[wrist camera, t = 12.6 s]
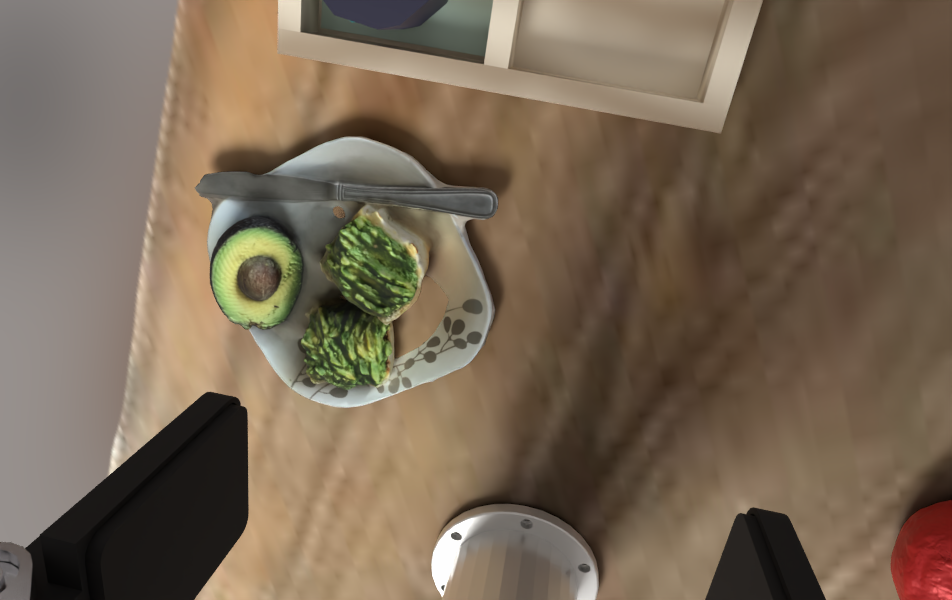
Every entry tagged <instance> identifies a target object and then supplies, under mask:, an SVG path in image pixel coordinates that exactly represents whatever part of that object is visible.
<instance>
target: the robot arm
mask: <svg viewBox="0 0 952 600" xmlns="http://www.w3.org/2000/svg"><path fill="white" fill-rule="evenodd" d="M247 521H248V417H247V409H246V408H245V407H243V406H241V405H240V401H239V399H238V398H236V397H232V396H228V395H223V394H218V393H214V392H207V393H205V394H203V395H202V396H201V397H200V398H199V399H198V400H196V401H195V402H194V403H193V404H192V405H191V406H189V407H188V408H187V409H186V410H185V411H184V412H182V413H181V414H180V415H179V416H178V417H177V418H175V419H174V420H173V421H172V422H171V423H170V424H168V425H167V426H166V427H165V428H164V429H163V430H161V431H160V432H159V433H158V434H157V435H156V436H154V437H153V438H152V439H151V440H150V441H149V442H147V443H146V444H145V445H144V446H143V447H142V448H140V449H139V450H138V451H137V452H136V453H135V454H133V455H132V456H131V457H130V458H129V459H128V460H127V461H125V462H124V463H123V464H122V465H121V466H120V467H118V468H117V469H116V470H115V471H114V472H113V473H111V474H110V475H109V476H108V477H107V478H106V479H104V480H103V481H102V482H101V483H100V484H99V485H98V486H96V487H95V488H94V489H93V490H92V491H91V492H89V493H88V494H87V495H86V496H85V497H83V498H82V499H81V500H80V501H79V502H78V503H76V504H75V505H74V506H73V507H72V508H71V509H70V510H69V511H67V512H66V513H65V514H64V515H62V516H61V517H60V518H59V519H58V520H57V521H55V522H54V523H53V524H52V525H51V526H50V527H48V528H47V529H46V530H45V531H44V532H43V533H42V534H40V536H39V537H38V538H37V539H36V540H34V541H33V542H32V543H31V544H30V545H29V546H28V547H26V548H24V547H23V546H20V545H17V544H14V543H11V542H0V600H194V599H195V598H196V596H197V595H198V594H199V592H200V591H201V589H202V588H203V587H204V585H205V584H206V583H207V581H208V580H209V579H210V577H211V576H212V574H213V573H214V572H215V570H216V569H217V568H218V566H219V565H220V564H221V562H222V561H223V559H224V558H225V557H226V555H227V554H228V553H229V551H230V550H231V549H232V547H233V546H234V544H235V543H236V542H237V540H238V539H239V538H240V536H241V535H242V533H243V531H244V529H245V527H246V524H247ZM431 567H432V576H433V579H434V582H435V585H436V587H437V589H438V590H439V592H440V594H441V596H442V600H596V598H597V593H598V588H599V572H598V567H597V562H596V559H595V557H594V555H593V552H592V550H591V548H590V547H589V545H588V544H587V543H586V541H585V540H584V539H583V537H582V536H581V535H580V534H579V533H578V532H577V531H575V530H574V529H573V528H572V527H571V526H570V525H568V524H567V523H565V522H564V521H562V520H560V519H559V518H557V517H555V516H553V515H551V514H549V513H546V512H544V511H542V510H538V509H535V508H531V507H528V506H522V505H514V504H491V505H486V506H481V507H476V508H474V509H471V510H469V511H466V512H464V513H462V514H460V515H459V516H457V517H455V518H454V519H452V520H451V521H450V522H449V523H448V524H447V525H446V526H445V527H444V528H443V530H442V532H441V533H440V535H439V536H438V538H437V541H436V544H435V547H434V550H433V555H432V561H431ZM705 600H826V599H825V596H824V594H823V592H822V590H821V588H820V585H819V583H818V581H817V579H816V576H815V574H814V572H813V570H812V568H811V565H810V563H809V561H808V559H807V556H806V554H805V552H804V550H803V548H802V545H801V543H800V541H799V539H798V537H797V534H796V532H795V530H794V528H793V525H792V523H791V521H790V519H789V518H788V516H787V515H785V514H782V513H777V512H772V511H768V510H763V509H758V508H750V510H749V511H748V512H747V514H742V513H740V514H738V515H737V516H736V518H735V521H734V523H733V526H732V529H731V532H730V534H729V537H728V540H727V542H726V545H725V548H724V550H723V553H722V556H721V559H720V561H719V564H718V567H717V569H716V572H715V575H714V578H713V580H712V583H711V586H710V588H709V591H708V594H707V596H706V599H705Z"/></svg>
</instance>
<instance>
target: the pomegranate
mask: <svg viewBox="0 0 952 600" xmlns="http://www.w3.org/2000/svg"><path fill="white" fill-rule="evenodd" d="M891 572H892V577H893V581H894V583H895V586H896V590H897V593H898V596H899V598H900V600H952V500H949V501H944V502H939V503H935V504H934V505H931V506H928V507H926V508H922V509H920V510H919V511H917V512H916V513H914V514H913V515H912V516H910V518H909V519H908V520H907V521H906V523H905V524H904V525H903V527H902V528H901V530H900V533H899V535H898V537H897V540H896V543H895V546H894V549H893V552H892V556H891Z"/></svg>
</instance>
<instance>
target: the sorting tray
mask: <svg viewBox="0 0 952 600" xmlns="http://www.w3.org/2000/svg"><path fill="white" fill-rule="evenodd" d="M762 2H763V0H448V2H447V4H446V5H444V6H443V7H442V8H441V9H440V10H438V11H437V12H436V13H435V14H434V15H433V16H431V17H430V18H429V19H428V20H427V21H425V22H424V23H423V24H422V25H421V26H418V27H413V28H408V29H392V30H377V29H374V28H371V27H368V26H365V25H362V24H359V23H356V22H351V21H350V20H347V19H344V18H341V17H338V16H335V15H334V14H333V13H332V12H331V10H330V9H329V8H328V6H327V5H326V4H325V2H324V1H323V0H278V54H284V55H289V56H295V57H300V58H306V59H311V60H317V61H322V62H328V63H334V64H339V65H345V66H350V67H356V68H361V69H367V70H372V71H378V72H383V73H389V74H394V75H400V76H406V77H411V78H417V79H422V80H428V81H433V82H439V83H444V84H450V85H455V86H461V87H467V88H472V89H478V90H483V91H489V92H494V93H500V94H505V95H511V96H516V97H522V98H528V99H533V100H539V101H544V102H550V103H555V104H561V105H566V106H572V107H577V108H583V109H589V110H594V111H600V112H605V113H611V114H616V115H622V116H627V117H633V118H638V119H644V120H650V121H655V122H661V123H666V124H672V125H677V126H683V127H688V128H694V129H699V130H705V131H710V132H716V133H721V131H722V128H723V125H724V122H725V119H726V116H727V112H728V109H729V106H730V103H731V100H732V97H733V93H734V90H735V87H736V84H737V81H738V78H739V75H740V71H741V68H742V65H743V62H744V59H745V56H746V52H747V49H748V46H749V43H750V40H751V37H752V33H753V30H754V27H755V24H756V21H757V18H758V14H759V11H760V8H761V5H762Z"/></svg>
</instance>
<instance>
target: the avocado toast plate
mask: <svg viewBox="0 0 952 600" xmlns="http://www.w3.org/2000/svg"><path fill="white" fill-rule="evenodd" d="M195 189H196V191H197V192H198V193H199V195H200V196H201V197H204V198H207V199H208V200H209V201H210V202H211V203H212V208H213V211H212V217H211V222H210V226H209V230H208V240H207V246H208V253H209V259H210V284H211V288H212V291H213V294H214V297H215V299H216V302H217V303H218V305H219V307H220V309H221V310H222V312H223V313H224V315H226V316H227V318H228V319H229V320H230V321H231V322H233V323H235V324H239V325H241V326H242V327H243V328H244V329H246V330H247V329H249V330H250V332H251V334H252V335H253V338H254V340H255V342H256V343H257V345H258V346H259V347H260V349H261V350H262V352H263V354H264V355H265V357H266V359H267V360H268V362H269V363H270V365H271V366H272V368H273V369H274V370H275V372H276V373H277V374H278V376H279V377H280V378H281V379H282V380H283V381H284V382H285V383H286V384H287V386H288V387H289V388H291V389H292V390H294V391H295V392H296V393H298V394H300V395H301V396H303V397H305V398H307V399H309V400H313V401H316V402H318V403H322V404H325V405H329V406H332V407H341V408H350V407H356V406H363V405H366V404H370V403H373V402H375V401H378V400H381V399H384V398H387V397H389V396H392V395H394V394H397V393H399V392H402V391H404V390H407V389H411V388H413V387H416V386H418V385H420V384H423V383H427V382H432V381H435V380H436V379H437V378H440V377H443V376H444V375H447V374H449V373H451V372H453V371H455V370H458V369H460V368H462V367H464V366H466V365H467V364H468V363H469V362H471V361H472V360H473V359H474V357H475V356H476V354H477V353H478V352H479V350H480V349H481V348H482V347H483V346H484V345H485V342H486V338H487V335H488V332H489V331H490V327H491V324H492V322H493V319H494V316H495V307H494V303H493V298H492V295H491V292H490V290H489V287H488V285H487V282H486V280H485V277H484V274H483V271H482V268H481V266H480V263H479V261H478V259H477V257H476V255H475V253H474V251H473V249H472V247H471V245H470V242H469V238H468V235H467V231H466V228H465V224H466V222H467V221H468V220H471V219H480V220H485V219H488V218H491V217H493V216H494V214H495V213H496V211H497V209H498V197H497V195H496V194H495V193H494V192H493V191H492V190H490V189H487V188H479V187H463V186H452V185H446V184H444V183H442V182H441V181H439V180H437V179H436V178H435V177H434V176H433V175H432V174H431V173H430V172H428V171H427V170H426V169H425V168H424V167H423V166H422V165H421V164H420V163H419V162H418V161H417V160H416V159H415V158H414V157H412V156H410V155H409V154H407V153H404V152H402V151H400V150H398V149H396V148H394V147H391V146H389V145H386V144H384V143H381V142H378V141H375V140H372V139H370V138H367V137H363V136H360V137H342V138H339V139H335V140H332V141H328V142H326V143H323V144H321V145H318V146H316V147H314V148H312V149H310V150H308V151H307V152H305V153H303V154H301V155H300V156H297V157H295V158H294V159H292V160H289V161H287V162H285V163H284V164H282V165H280V166H279V167H277V168H275V169H274V170H272V171H271V172H268V173H266V174H263V175H255V174H252V173H249V172H246V171H245V172H237V171H233V172H218V173H212V174H206V175H204V176H203V178H202V179H201V181H200V183H199V184H198V185H197V186H196V187H195ZM336 206H339V207H341V208H343V210H344V212H345V218H343V219H341V218H337V217H336V216H335V215H334V213H333V208H334V207H336ZM425 275H427V276H429V277H430V278H432V279H433V280H434V282H435V283H437V284H438V285H439V286H440V288H441V289H442V290H443V292H444V293H445V294H446V296H447V297H448V299H449V301H448V305H447V308H446V312H445V315H444V317H443V320H442V321H441V323H440V324H439V326H438V328H437V329H436V331H435V333H434V334H433V335H432V336H431V337H430V338H429V339H428V340H427V341H426V342H424V343H423V345H421V346H420V347H418V348H416V349H415V350H413V351H411V352H409V353H407V354H405V355H403V356H401V357H399V358H394V330H393V324H392V321H393V320H395V319H397V318H398V317H399V316H400V315H402V314H403V313H404V312H405V311H406V310H408V309H409V308H410V307H411V306H412V305H413V304H414V303H415V302H416V300H417V299H418V297H419V295H420V292H421V285H422V280H423V278H424V276H425ZM341 295H344V297H345V298H346V299H347V300H343V299H341V298H340V296H341Z"/></svg>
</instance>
